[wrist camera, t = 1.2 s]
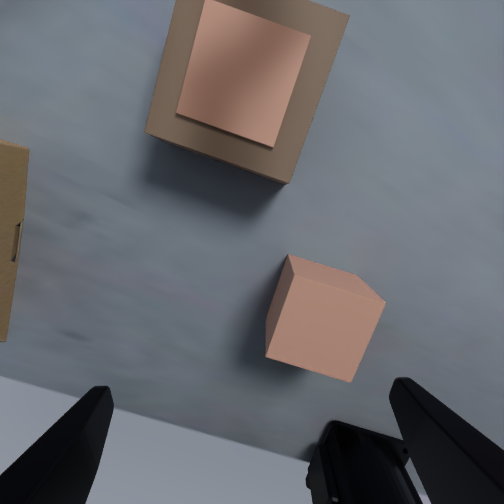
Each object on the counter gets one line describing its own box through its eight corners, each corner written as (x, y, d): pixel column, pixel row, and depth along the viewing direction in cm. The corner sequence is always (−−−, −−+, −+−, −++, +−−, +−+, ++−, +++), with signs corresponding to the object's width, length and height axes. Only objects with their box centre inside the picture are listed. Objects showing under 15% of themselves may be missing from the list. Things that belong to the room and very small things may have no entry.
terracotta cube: (356, 275, 20) (386, 302, 15) (331, 337, 21) (350, 383, 16) (287, 253, 20) (294, 274, 15) (266, 317, 21) (265, 356, 16)
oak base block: (331, 55, 17) (351, 12, 13) (284, 184, 19) (289, 183, 15) (205, 9, 17) (185, -48, 13) (170, 144, 19) (142, 131, 15)
